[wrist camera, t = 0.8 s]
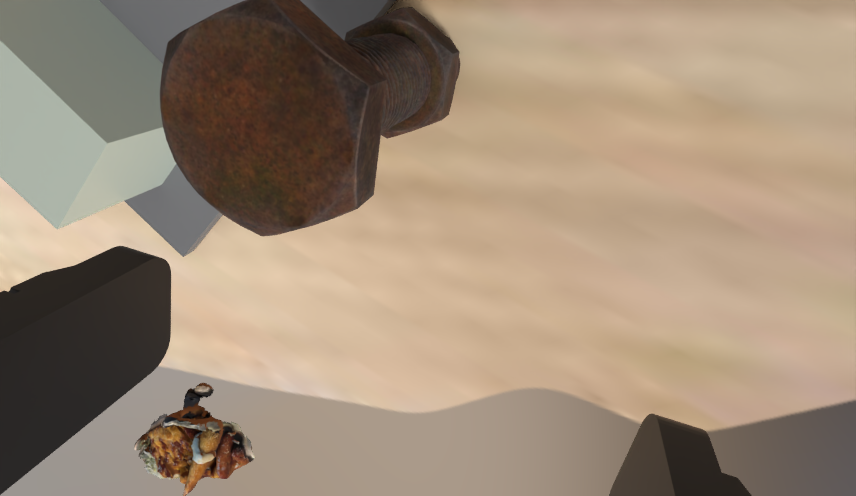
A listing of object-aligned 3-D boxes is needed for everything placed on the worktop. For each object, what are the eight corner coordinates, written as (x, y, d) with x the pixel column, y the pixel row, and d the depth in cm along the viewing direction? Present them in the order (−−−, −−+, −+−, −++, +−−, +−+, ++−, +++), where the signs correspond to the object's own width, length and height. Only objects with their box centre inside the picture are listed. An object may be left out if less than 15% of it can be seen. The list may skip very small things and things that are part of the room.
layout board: (168, -253, 23) (147, -265, 22) (397, -3, 25) (389, -3, 24) (20, 84, 33) (1, 87, 31) (193, 250, 34) (181, 258, 33)
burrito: (133, 443, 45) (99, 476, 42) (204, 377, 39) (170, 410, 36) (193, 497, 46) (164, 534, 43) (271, 440, 40) (244, 477, 37)
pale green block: (80, -18, 28) (-66, -23, 21) (211, 112, 29) (107, 143, 22) (41, 68, 30) (-98, 85, 24) (161, 184, 31) (57, 229, 25)
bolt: (469, 135, 26) (345, 268, 13) (372, 113, 27) (166, 218, 14) (493, 6, 24) (371, 14, 11) (386, -14, 25) (149, -29, 12)
